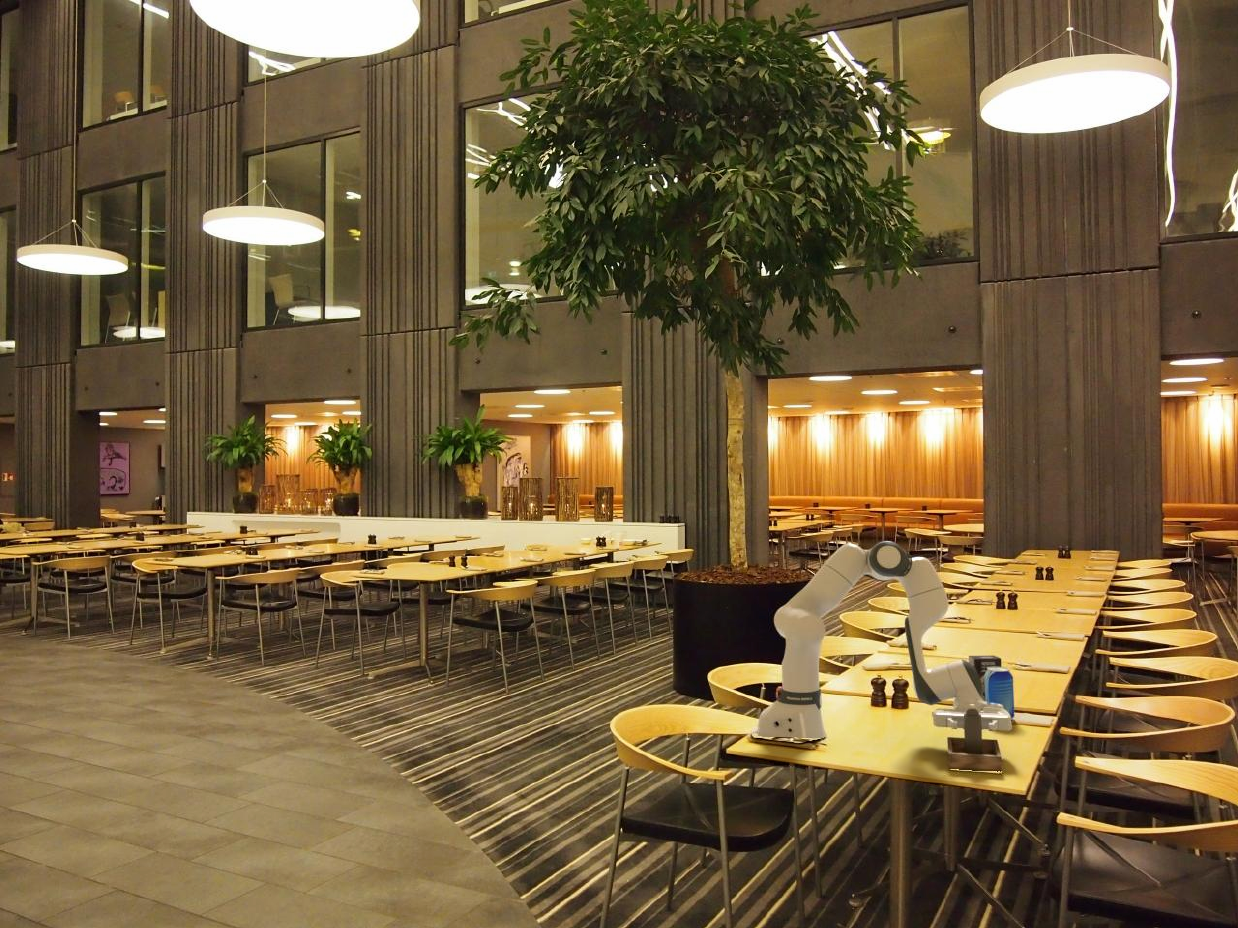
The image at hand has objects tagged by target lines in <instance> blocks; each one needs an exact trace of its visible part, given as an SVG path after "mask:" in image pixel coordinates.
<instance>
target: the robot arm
mask: <svg viewBox="0 0 1238 928" xmlns="http://www.w3.org/2000/svg"><path fill="white" fill-rule="evenodd" d="M863 576H864V577H866V578H870V579H872V580H874V581H878V582H882V583H884V582H889V581H891V580H896V581H898V582H899V583H900V584H901V586H902V588H903V589H904V592H905V595H906V597H907V600H908V605H909V611H908V615H907V616H906V617H905V619H904V631H905V636H906V643H907V647H908V654H909V660H910V665H911V666H910V667H911V672H912V686H913V691H914V693H915V696H916V697H917V699H918V701H920V702H921V703H923V704H925V705H928V706H933V705H937V704H939V703H941V702H943V701H947V700H951V699H953V702H952V703H953V704H952V708H936V709H935V710H934V711H933V712H931V717H932V720H933V727H934V726H935V727H938V728H951V729H952V730H958V729H963V730H964V714H965V713H966V711H967V710H968V709H969V708H970V707H969V705H970V704H974V705H975V709H977V711H978V712H979V714H980V715H981V724H982V731H983V730H988V731H989V732H996V731H1011V730H1012V725H1013V723H1012V721H1011V716H1010V714H1009V713H1008V712H1007V711H1006V710H1004V709H1003V705H1001V704H996V703H990V702H985V701H983V699H982V697H981V696H982V693H983V687H982V683H981V680H980V677H979V675H978V673H977V671H976V669H975V668H974V666H973V665H972V664H970V663H969V661H967V660H965V659H959V660H956V661H952V662H949V663H945V664H942V665H939V666H936V667H932V668H928V667H926V662H925V657H924V652H923V646H922V640H923V636H924V635H925V633H926V632H927V631H928V630H929V629H931V628H932V627H934V626H935V625H936V624H937V623H938V622H939V621H940V620H942V618H944V616H945V615H946V614H947V611H948V609H949V600H948V597H947V592H946V590H945V587H944V585H943V582H942V580H941V578H940V575H939V574H938V572H937V570H936V568H935V566H934V565H933V564H932V562H931V560H929V559H928V558H926V557H925V556H924V557H923V556H913V557H912V555H911V554H909V553H908V552H907V551H906V550H905V549H904V548H902V547H901V545H899V544H898V543H897V542H893V541H890V540H889V541H888V540H885V541H880V542H878V543H876V544H875V545H873V547H871V548H870V549H867V550H866V549H863V548H861V546H859V545H856V544H853V543H844V544H842V546H840V547H839V548H838V549H837V550H835V551H834V553H832V554H831V555H830V556H829V558H828V559H827V560H826V561H825V562H824V563H823V564H822V566H821V567H820V568H819V569H818V571H817V572H816V573H815V574H814V576H813V577H812V578H811V579H810V581H809V582H808V583H807V584H806V585H805V586H804V587H803V588H802V589H801V590H799V591H798V592H797V593H796V594H795V595H794V596H793V597H792V598H791V599H789V601H788V602H787V603H786V604H784V605H783V606H781V607H779V608H778V609H777V610H776V612H775V614H774V617H773V624H774V627H775V630H776V631H777V632H778V634H779V635H780V637H782V638H784V639H785V650H784V655H783V656H784V657H783V659H782V662H781V679H782V681H781V683H782V684H781V685H782V686H778V687H777V688H776V691H775V699H776V700H775V701H773V702H772V703H771V704H770V705H769V706H768V707H766V708H765V709H764V710H762V712H761V714H760V716H759V717H758V725H755V726H754V727H753V728H752V729H751V734H754V733H757V734H758V736H762V737H797V738H824V737H825V738H826V737H827V733H826V730H825V726H824V722H823V717H822V709H821V708H822V706H823V704H822V703H823V702H822V701H823V700H822V699H823V698H822V692H821V691H822V690H821V688H820V671H819V669H820V667H819V666H820V657H821V656H820V655H821V649H822V643H823V640H824V639H825V637H826V631H827V630H826V625H825V623H824V621H823V620H822V618H824V617H825V616H826V615H827V614H829V613H830V612H831V611H833V610H835V609H836V608H838V607H839V605H840V604H841V603H842V601H843V600H844V599H846V597H847V595H848V594H849V593H850V591H851V590H852V589H853V587H855V585H856V584H857V582H858V581H859V580H860V579H861V578H862V577H863ZM751 734H750V735H751ZM825 738H824V739H825Z"/></svg>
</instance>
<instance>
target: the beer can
mask: <svg viewBox="0 0 1238 928" xmlns="http://www.w3.org/2000/svg"><path fill="white" fill-rule="evenodd" d="M987 669H988V670H987V672H986V673H985V675H984V679H985V702H990V703H996V704H1001V705H1003V709H1004V710H1006V711H1007V712H1008V713H1009V714H1010V716H1011V720H1012V721H1013V719H1014V717H1015V698H1014V676H1013V674H1012V672H1011V671H1010V668H1008V667H1003V666H1002V667H988V668H987Z"/></svg>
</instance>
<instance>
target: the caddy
mask: <svg viewBox="0 0 1238 928" xmlns="http://www.w3.org/2000/svg"><path fill="white" fill-rule="evenodd" d="M946 739H947V757H948V758H947V759H948V760H949V761H948V760H947V761H948V770H949V769H959V770H972V771H997V772H998V771H1000V772H1001V771H1002V772H1003V758H1002V757H1003V756H1002V753H1001V749H1000V746H999V745H1000V744H999V742H998V739H989V738H987V739H986V738H982V754H967V753H965V737H953V736H952V737H951V736H947V738H946Z"/></svg>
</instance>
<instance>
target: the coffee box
mask: <svg viewBox="0 0 1238 928" xmlns="http://www.w3.org/2000/svg"><path fill="white" fill-rule="evenodd" d="M968 662H969V663H970V664H972V665H973V666H974V668H975V669H976V671H977V673H978V675H979V677H980V680H981V683H982V687H983V693H982V696H981V697H982V699H983V701H985V679H984V675H985V673H986V672H987V670H988V669H987V668H988V667H1003V666H1002V658H1001V657H999V656H997V655H993V654H992V655H968Z"/></svg>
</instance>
